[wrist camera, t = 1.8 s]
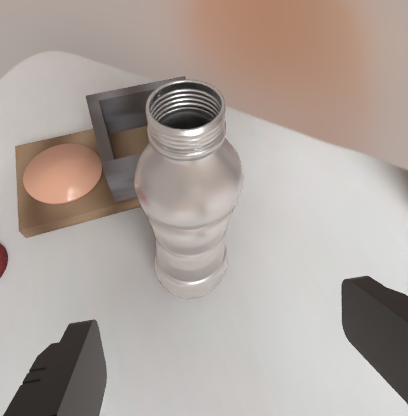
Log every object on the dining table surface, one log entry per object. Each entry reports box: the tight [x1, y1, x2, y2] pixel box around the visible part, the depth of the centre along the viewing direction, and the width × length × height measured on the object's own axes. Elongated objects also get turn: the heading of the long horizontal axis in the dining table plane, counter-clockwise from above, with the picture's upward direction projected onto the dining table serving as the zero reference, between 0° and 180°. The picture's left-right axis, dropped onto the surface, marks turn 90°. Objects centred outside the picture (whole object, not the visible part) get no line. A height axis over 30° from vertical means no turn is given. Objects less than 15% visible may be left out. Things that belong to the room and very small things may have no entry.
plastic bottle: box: [134, 80, 243, 299], centre depth 23 cm, size 6×7×20 cm
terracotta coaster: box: [23, 143, 103, 205], centre depth 36 cm, size 8×8×1 cm
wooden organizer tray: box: [15, 77, 186, 238], centre depth 35 cm, size 21×12×6 cm, turn 109°
